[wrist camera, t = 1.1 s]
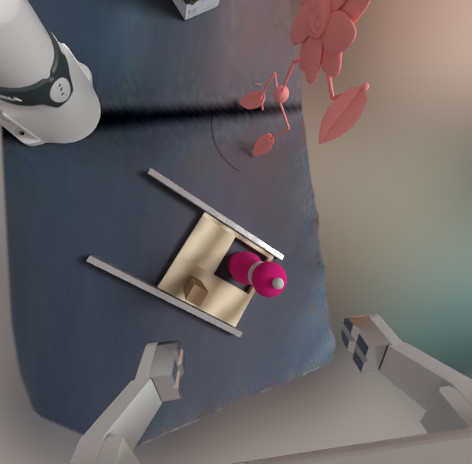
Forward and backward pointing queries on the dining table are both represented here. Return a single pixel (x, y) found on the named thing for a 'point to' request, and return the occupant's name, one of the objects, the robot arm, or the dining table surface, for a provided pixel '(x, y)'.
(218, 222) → the beige piece
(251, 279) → the pepper mill
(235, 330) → the runner track
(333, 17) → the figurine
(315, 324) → the dining table surface
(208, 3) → the tea box
